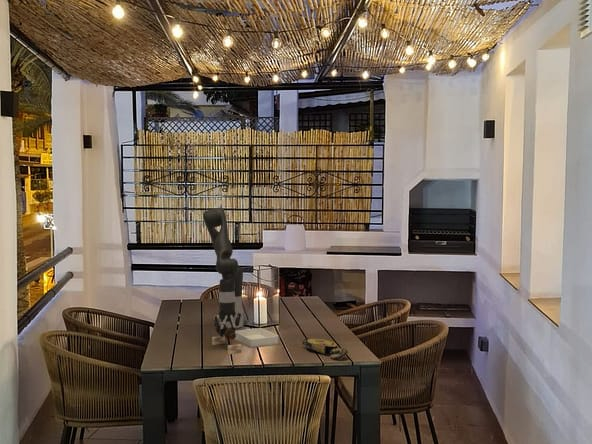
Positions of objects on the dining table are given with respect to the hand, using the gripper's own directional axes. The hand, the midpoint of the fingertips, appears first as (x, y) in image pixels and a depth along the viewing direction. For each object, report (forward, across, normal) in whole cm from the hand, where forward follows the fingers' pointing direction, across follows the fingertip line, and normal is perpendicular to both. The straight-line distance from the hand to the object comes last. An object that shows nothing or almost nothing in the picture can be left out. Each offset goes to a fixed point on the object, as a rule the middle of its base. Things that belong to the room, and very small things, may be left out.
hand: (227, 335), depth 289 cm
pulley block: (+6, -37, +30) cm, 48 cm away
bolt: (+1, 0, 0) cm, 1 cm away
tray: (+6, -18, -5) cm, 19 cm away
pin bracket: (+6, 0, 0) cm, 6 cm away
